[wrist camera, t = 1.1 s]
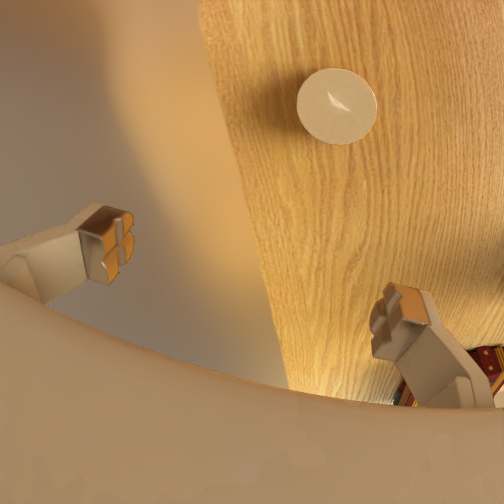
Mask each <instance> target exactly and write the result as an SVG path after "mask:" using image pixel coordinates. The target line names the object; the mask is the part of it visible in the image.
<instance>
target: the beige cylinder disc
mask: <svg viewBox="0 0 504 504" xmlns="http://www.w3.org/2000/svg"><path fill="white" fill-rule="evenodd" d="M296 108H297V114H298V117H299V119H300V121H301V123H302V125H303V127H304V128H305V129H306V130H307V131H308V133H310V134H311V135H312V136H313V137H315V138H316V139H318V140H320V141H322V142H324V143H327V144H332V145H346V144H351V143H353V142H356V141H358V140H360V139H361V138H363V137H364V136H365V135H366V134H367V133H368V132H369V131H370V130H371V128H372V126H373V125H374V122H375V120H376V116H377V102H376V98H375V95H374V93H373V90H372V89H371V87H370V86H369V84H368V83H367V82H366V81H365V80H364V79H363V78H362V77H360V76H359V75H358V74H356V73H354V72H352V71H349V70H347V69H343V68H326V69H321V70H319V71H316V72H314V73H313V74H311V75H310V76H309V77H308V78H307V79H306V80H305V81H304V82H303V84H302V85H301V87H300V89H299V92H298V95H297V100H296Z"/></svg>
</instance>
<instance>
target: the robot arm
mask: <svg viewBox="0 0 504 504" xmlns="http://www.w3.org/2000/svg"><path fill="white" fill-rule="evenodd" d="M133 225H134V220H133V215H132V214H131V213H130V212H127V211H123V210H120V209H116V208H113V207H109V206H105V205H101V204H98V203H89V204H88V205H87V206H86V207H84V208H83V209H82V210H81V211H80V212H78V213H77V214H76V215H75V216H74V217H72V218H71V219H70V220H69V221H68V222H67V223H66V224H64V225H63V226H60V225H58V226H55V227H52V228H49V229H46V230H43V231H40V232H37V233H34V234H31V235H28V236H25V237H22V238H20V239H17V240H14V241H11V242H9V243H6V244H3V245H1V246H0V504H504V408H495V404H494V400H493V395H492V391H491V387H490V384H489V380H488V377H487V376H486V375H485V374H484V372H483V371H482V370H481V369H480V367H479V366H478V365H477V364H476V362H475V361H474V360H473V359H472V358H471V356H470V355H469V354H468V353H467V352H466V350H465V349H464V348H463V347H462V346H461V344H460V343H459V342H458V341H457V340H456V339H455V337H454V336H453V335H452V334H451V333H450V332H449V331H448V329H444V327H443V324H442V321H441V318H440V315H439V312H438V309H437V306H436V304H435V301H434V298H433V295H432V294H431V293H430V292H429V291H425V290H421V289H415V288H411V287H408V286H404V285H400V284H396V283H392V282H390V283H389V284H387V285H386V287H385V289H384V290H383V295H384V298H382V299H380V300H378V301H377V302H376V303H375V305H374V307H373V309H372V312H371V315H370V321H369V326H370V330H371V332H372V333H373V334H374V337H373V339H372V340H371V345H372V355H373V358H377V359H382V360H387V361H392V362H396V363H395V364H396V366H397V368H398V369H399V371H400V373H401V375H402V376H403V378H404V380H405V382H406V384H407V385H408V387H409V389H410V391H411V393H412V394H413V396H414V398H415V400H416V402H417V403H418V405H419V407H409V406H397V405H386V404H377V403H368V402H360V401H353V400H346V399H339V398H332V397H326V396H320V395H315V394H309V393H304V392H299V391H294V390H289V389H284V388H279V387H275V386H270V385H266V384H262V383H258V382H253V381H249V380H245V379H242V378H238V377H234V376H230V375H227V374H223V373H219V372H216V371H212V370H209V369H206V368H202V367H199V366H196V365H192V364H189V363H186V362H183V361H180V360H177V359H174V358H171V357H168V356H165V355H162V354H159V353H156V352H154V351H151V350H148V349H145V348H143V347H140V346H137V345H134V344H132V343H129V342H127V341H124V340H122V339H119V338H117V337H114V336H112V335H109V334H107V333H104V332H102V331H100V330H97V329H95V328H93V327H91V326H88V325H86V324H84V323H81V322H79V321H77V320H75V319H73V318H71V317H68V316H66V315H64V314H62V313H60V312H58V311H56V310H54V309H52V308H50V307H48V306H46V305H44V304H46V303H48V302H49V301H51V300H53V299H54V298H56V297H58V296H60V295H61V294H63V293H65V292H67V291H68V290H70V289H72V288H74V287H76V286H78V285H79V284H81V283H83V282H85V281H87V279H90V280H93V281H96V282H99V283H102V284H105V285H108V286H110V284H111V283H112V282H113V280H114V279H115V278H116V277H117V275H118V274H119V267H120V266H122V265H125V264H127V262H128V261H129V259H130V258H131V256H132V253H133V250H134V243H135V240H134V235H133V234H132V232H131V230H130V229H131V227H132V226H133Z"/></svg>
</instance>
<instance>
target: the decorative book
mask: <svg viewBox="0 0 504 504" xmlns="http://www.w3.org/2000/svg"><path fill="white" fill-rule="evenodd" d="M468 354H469V355H470V356H471V358H472V359H473V360H474V361H475V362H476V364H477V365H478V366H479V367H480V369H481V370H482V371H483V372H484V374H485V375H486V376H487V377H488V380H489V384H490V387H491V391H492V395H493V399H494V396H495V394H496V393H497V392H498V391H499V389H500V388H501V387H502V385H503V384H504V346H503V347H499V348H494V349H490V346H488V347H483V348H477V350H476V352H473V353H468ZM393 405H397V406H409V407H419V405H418V403H417V402H416V400H415V398H414V396H413V394H412V393H411V391H410V389H409V387H408V385H407V384H406V382H405V380H403V382H402V385H401V388H400V390H398V391H397V394H396V396H395V399H394V401H393Z"/></svg>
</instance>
